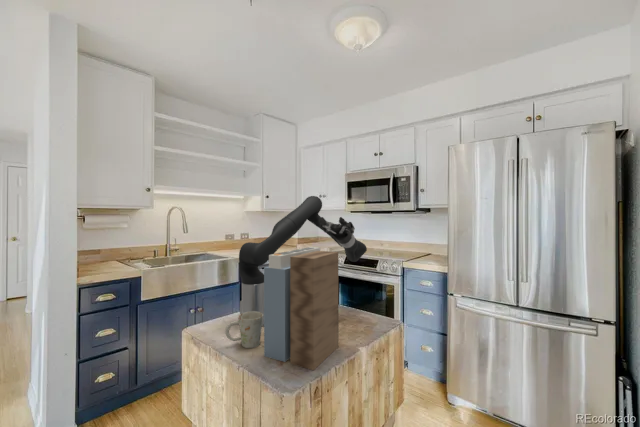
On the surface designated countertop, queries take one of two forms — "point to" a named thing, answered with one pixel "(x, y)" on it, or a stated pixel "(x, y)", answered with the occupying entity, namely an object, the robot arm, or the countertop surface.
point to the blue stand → (277, 313)
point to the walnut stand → (313, 308)
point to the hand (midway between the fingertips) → (330, 219)
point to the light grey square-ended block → (287, 257)
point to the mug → (248, 329)
